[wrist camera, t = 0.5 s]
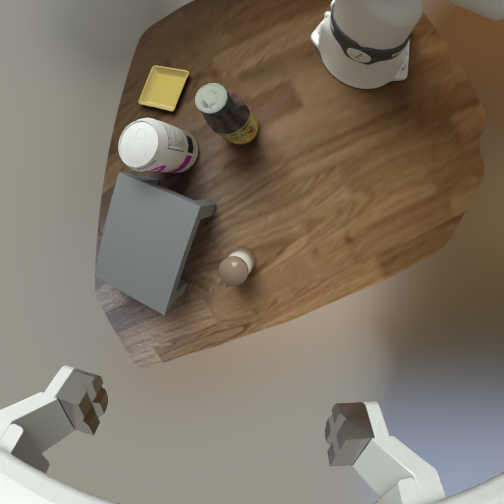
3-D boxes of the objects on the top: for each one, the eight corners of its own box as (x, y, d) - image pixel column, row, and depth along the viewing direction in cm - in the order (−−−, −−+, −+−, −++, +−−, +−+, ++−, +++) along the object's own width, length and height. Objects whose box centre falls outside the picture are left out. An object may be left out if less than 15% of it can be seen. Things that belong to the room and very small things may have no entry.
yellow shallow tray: (193, 74, 50) (189, 70, 48) (177, 114, 52) (173, 111, 50) (157, 68, 50) (153, 64, 48) (142, 105, 53) (137, 103, 51)
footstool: (148, 172, 55) (119, 172, 46) (219, 202, 54) (200, 206, 44) (122, 262, 61) (94, 275, 51) (186, 295, 59) (164, 315, 50)
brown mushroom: (236, 242, 55) (224, 252, 47) (260, 253, 55) (252, 264, 47) (227, 265, 56) (214, 278, 49) (250, 275, 56) (241, 290, 48)
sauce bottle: (229, 149, 51) (186, 132, 32) (222, 117, 50) (176, 86, 31) (265, 140, 50) (239, 115, 31) (257, 107, 49) (227, 68, 30)
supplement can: (193, 177, 54) (153, 176, 39) (155, 167, 55) (109, 165, 40) (205, 135, 52) (169, 120, 37) (166, 127, 52) (123, 113, 38)
